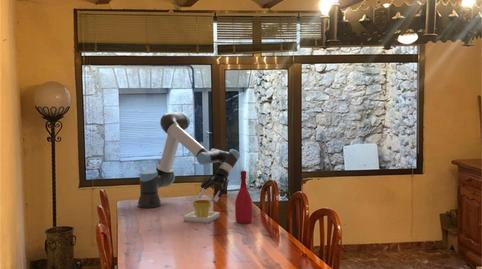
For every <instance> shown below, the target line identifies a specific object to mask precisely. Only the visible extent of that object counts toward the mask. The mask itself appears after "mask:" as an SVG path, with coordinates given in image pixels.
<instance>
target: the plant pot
mask: <svg viewBox="0 0 482 269" xmlns="http://www.w3.org/2000/svg"><path fill="white" fill-rule="evenodd" d="M211 204H212V201H211V200H209V199H196V200H193V202H192V206H193V208H194V211H195V213H196V217H204V218H207V217H208V212H209V211H210V209H211Z"/></svg>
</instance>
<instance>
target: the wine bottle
mask: <svg viewBox="0 0 482 269" xmlns="http://www.w3.org/2000/svg"><path fill="white" fill-rule="evenodd" d="M240 179H241V180H240V188H239V190H238V193H237V195H236V198H235V203H234V204H235V205H234V206H235V207H234V210H235V211H234V212H235V217H234V218H235V222H236V223H239V224H249V223H252V220H253V200H252V197H251V195H250V192H249V190H248V186H247V171H246V170H241V171H240Z"/></svg>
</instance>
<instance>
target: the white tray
mask: <svg viewBox="0 0 482 269" xmlns="http://www.w3.org/2000/svg"><path fill="white" fill-rule="evenodd" d="M219 218H220V211H219V212H218V211H210V210H209V212H208V217H207V218H204V217H196V213H195V210H193V211H192V212H189V213H186V214H185V215H183V222H187V223H188V222H189V223H197V224H198V223H200V224H210V223H212V222H213V221H216V220H217V219H219Z"/></svg>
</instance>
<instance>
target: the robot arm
mask: <svg viewBox="0 0 482 269" xmlns="http://www.w3.org/2000/svg"><path fill="white" fill-rule="evenodd" d="M190 120H191V119H190V117H189V116H188V114H187V113H186V112H184V111H183V112H182V111H177V112H167V113H164V114H163V115H162V116H161V117H160V121H159V122H160V127H161V129H162V130H163V132H165V134H167V136H166V139H165V142H164V148H163V151H162V155H161V159H160V163H159V164H158V165H157V166H156V169H147V170H143V171H142V172H140V174H139V191H140V193H139V194H140V195H139V199H138V200H137V207H139V208H142V209H151V208H159V207H161V205H162V202H161V199H160V194H159V188H165V187H166V188H167V187H168V186H170V185H171V186H172V184H173V183H174V181H175V178H176V176H175V172H174V168H173V165H174V161H175V158H176V154H177V151H178V147H179V143H180V144H181V145H182V147H185V149H187V150H188V152H190V153H192V155H194V156H195V157H196V161H197V164H199V165H202V166H204V165H209V164H213V163H221V164H220V165H219V167H218V169H217V170H216V172H215V175H214V176H213V175H210V176H209V178H208V179H207V180H205V182H203V183H202V184H201V185H200V187H201V189H200V191H199V193H198V195H197V197H198V200H202V198H203V196H204V195H205V193H206V192H207V189H209V188H210V187H212V186H213V185H219V190H218V192H217V193H216V195H215V196H214V199H213V201H214V202H215V203H218V201H219V199H220V198H221V197H222V195H223V194H225V193H228V185H229V184H228V183H229V181H230V180H229V176H230V174H231V172H232V171H233V169H234V166H235V165H236V164H237V162H238V161H239V158H240V157H241V156H240V155H241V154H240V152H239V151H238V150H236V149H233V148H232V149H229V151H225V150H221V149H217V148H211V149H209V150H208V149H206V148H205V147H204V146H202V144H200V143H199V142H198V141H197V140H195V138H193V137H192V136H191V135H190V134H188V133H187V132H186V131H185V130H187V129H188V128H189V127H190V124H191V122H190Z"/></svg>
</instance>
